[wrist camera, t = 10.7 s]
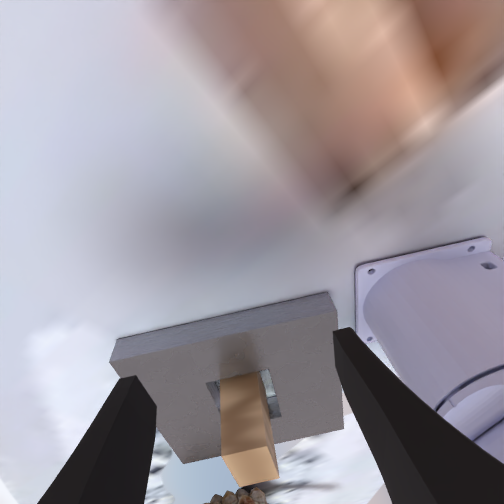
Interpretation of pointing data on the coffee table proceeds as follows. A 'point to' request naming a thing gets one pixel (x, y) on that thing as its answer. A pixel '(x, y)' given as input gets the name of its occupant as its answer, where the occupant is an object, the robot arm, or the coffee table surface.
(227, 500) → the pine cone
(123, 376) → the collar plate
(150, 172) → the coffee table surface
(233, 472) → the tan cardboard box
